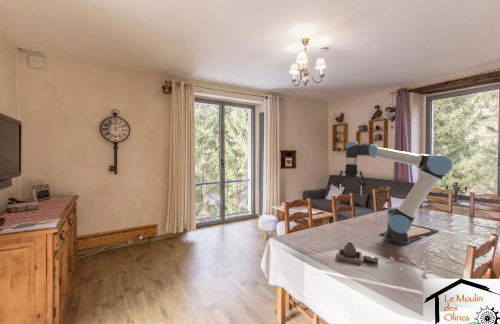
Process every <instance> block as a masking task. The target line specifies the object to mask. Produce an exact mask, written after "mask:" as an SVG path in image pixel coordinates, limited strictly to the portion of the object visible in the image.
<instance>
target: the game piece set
mask: <svg viewBox="0 0 500 324" xmlns="http://www.w3.org/2000/svg"><path fill="white" fill-rule="evenodd" d="M403 259H404V258H403V257H402V258H401V257H399V260H401V261H402V260H403ZM409 259H410V260H409V261H410V263H411V264H413V265H414V264H417V263H416V260H413V259H412V258H411V257H410V258H409ZM391 260H392V261H395V258H393V257H392V256H390V259H386V262H387V263H390V261H391ZM390 267H393V265H390ZM420 268H421V269H422V270H423V271H422V276H423V277H426V276H427V275H428V274H430V273H431V272H432V271H431V270H428V268H427V266H426V265H425V262H424V261H422V265H420ZM403 269H404V268H402V267H400V268H399V272H403ZM424 269H425V270H424ZM412 274H413V273H411V275H412Z"/></svg>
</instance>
